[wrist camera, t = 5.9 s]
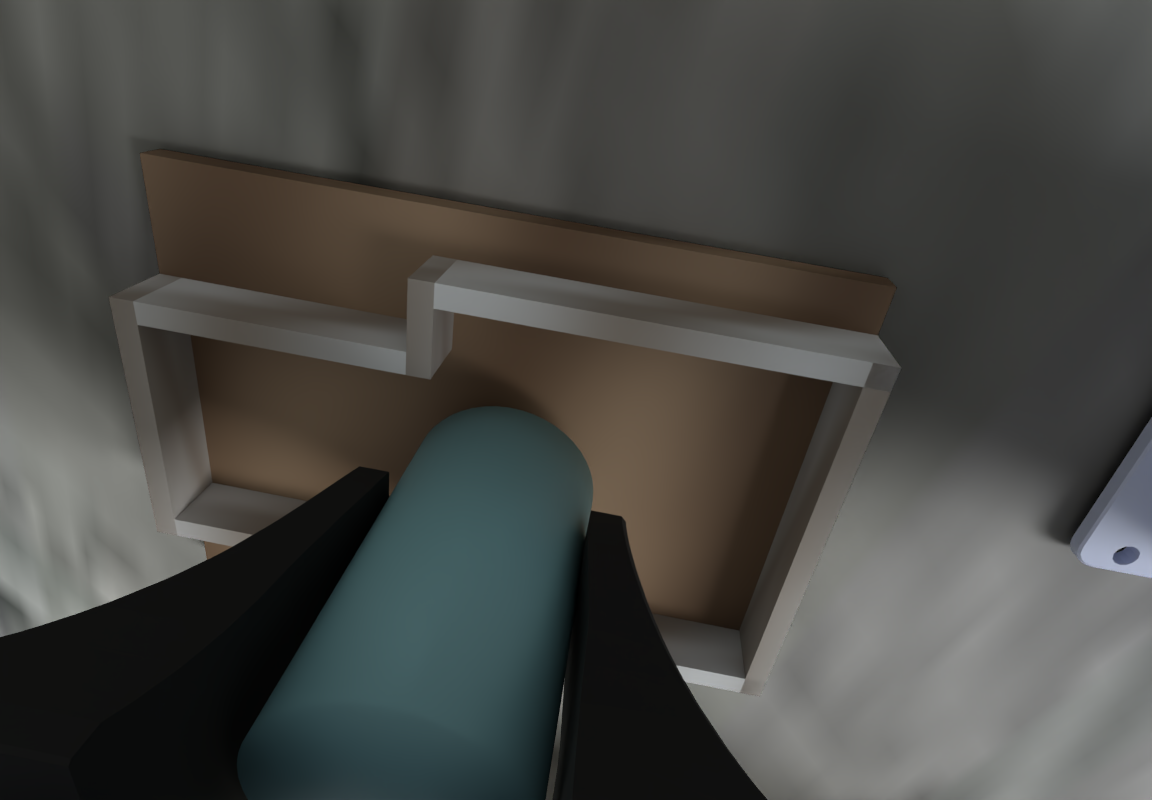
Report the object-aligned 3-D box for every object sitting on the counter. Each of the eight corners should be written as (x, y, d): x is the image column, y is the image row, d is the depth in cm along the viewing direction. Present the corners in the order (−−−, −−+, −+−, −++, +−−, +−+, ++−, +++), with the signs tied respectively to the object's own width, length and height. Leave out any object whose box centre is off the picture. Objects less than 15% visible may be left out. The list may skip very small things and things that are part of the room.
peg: (615, 436, 14) (574, 757, 8) (568, 572, 16) (507, 915, 10) (427, 384, 14) (235, 666, 8) (405, 528, 16) (237, 844, 10)
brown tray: (887, 277, 13) (923, 315, 11) (740, 655, 18) (749, 722, 17) (159, 148, 14) (80, 164, 12) (220, 551, 19) (172, 606, 17)
